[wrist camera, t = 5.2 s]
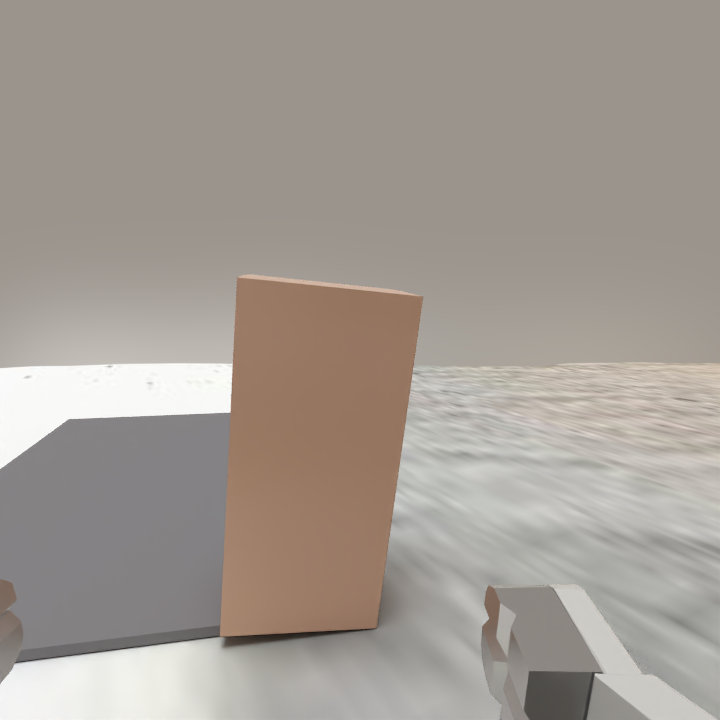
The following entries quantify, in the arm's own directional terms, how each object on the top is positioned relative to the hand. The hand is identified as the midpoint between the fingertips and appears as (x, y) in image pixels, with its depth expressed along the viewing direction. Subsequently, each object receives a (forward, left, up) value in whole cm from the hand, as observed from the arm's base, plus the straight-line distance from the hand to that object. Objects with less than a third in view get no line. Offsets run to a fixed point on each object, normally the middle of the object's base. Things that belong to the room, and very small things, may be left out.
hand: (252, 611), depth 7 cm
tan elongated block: (-1, -7, -6) cm, 9 cm away
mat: (+8, -16, -6) cm, 18 cm away
